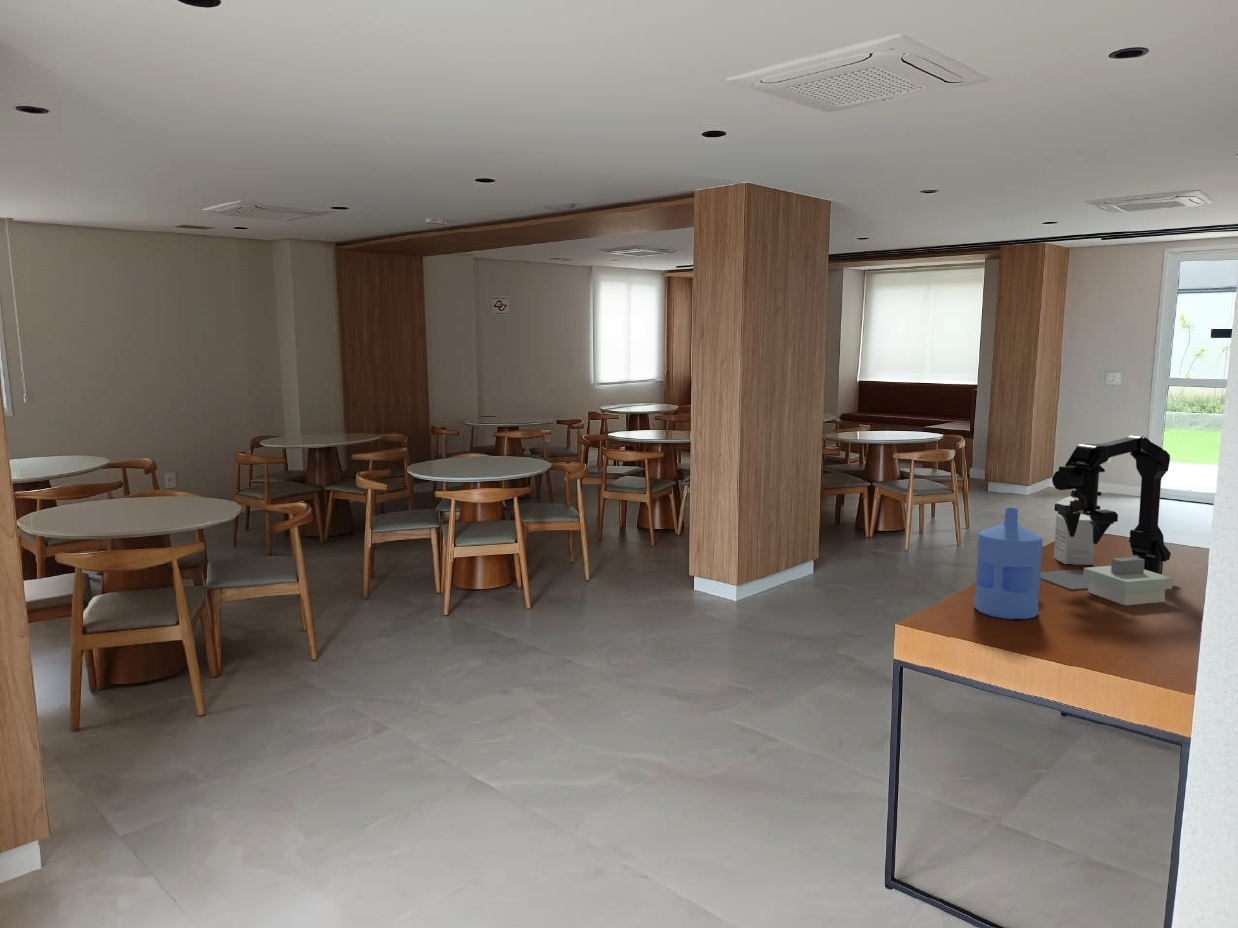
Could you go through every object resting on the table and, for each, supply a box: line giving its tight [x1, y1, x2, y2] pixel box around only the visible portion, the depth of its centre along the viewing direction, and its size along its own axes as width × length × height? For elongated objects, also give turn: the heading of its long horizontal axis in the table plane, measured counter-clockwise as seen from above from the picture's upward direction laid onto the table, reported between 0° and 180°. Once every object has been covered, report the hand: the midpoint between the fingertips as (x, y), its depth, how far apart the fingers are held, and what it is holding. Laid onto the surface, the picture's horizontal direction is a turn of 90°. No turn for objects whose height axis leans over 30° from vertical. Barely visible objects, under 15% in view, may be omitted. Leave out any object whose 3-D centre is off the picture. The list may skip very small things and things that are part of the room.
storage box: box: [1087, 580, 1166, 606], centre depth 234 cm, size 13×13×6 cm
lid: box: [1082, 556, 1174, 593], centre depth 234 cm, size 15×15×7 cm
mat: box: [1040, 569, 1089, 591], centre depth 252 cm, size 18×18×1 cm
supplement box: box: [1053, 514, 1095, 566], centre depth 273 cm, size 9×9×15 cm
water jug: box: [973, 507, 1043, 620], centre depth 221 cm, size 16×16×28 cm
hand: (1083, 540), depth 244 cm, fingers open, 9 cm apart
